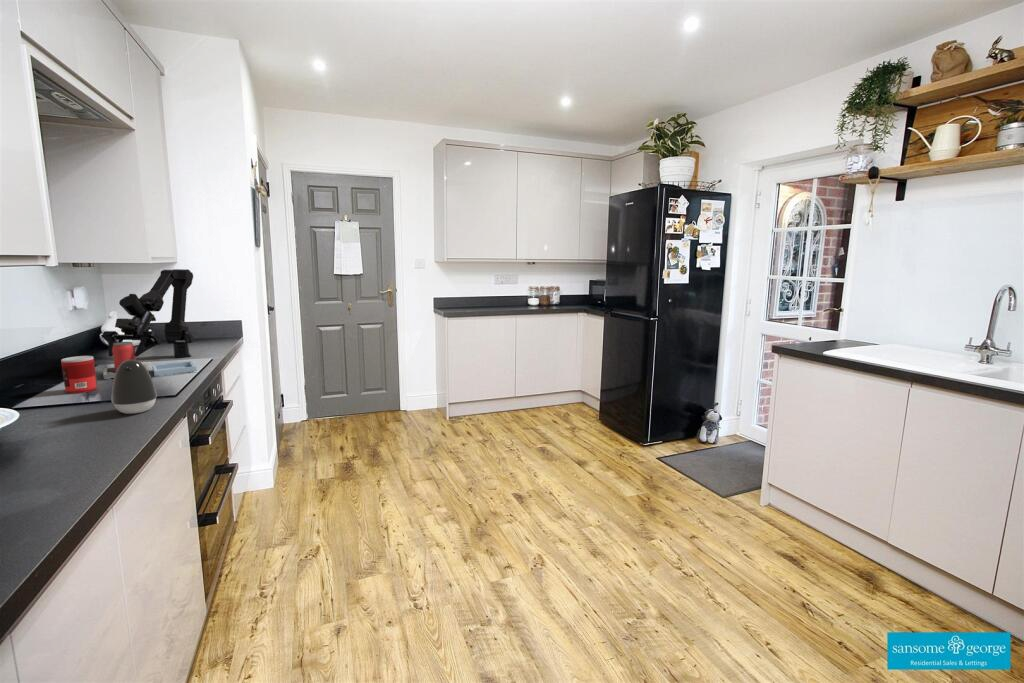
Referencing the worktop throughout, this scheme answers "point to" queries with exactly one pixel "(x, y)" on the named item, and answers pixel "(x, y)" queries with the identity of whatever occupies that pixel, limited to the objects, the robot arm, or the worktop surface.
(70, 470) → the worktop surface
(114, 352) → the beer can
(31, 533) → the worktop surface
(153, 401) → the grey egg-shaped dome
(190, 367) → the tray
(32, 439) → the worktop surface
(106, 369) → the bay frame
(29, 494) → the worktop surface
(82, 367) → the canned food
